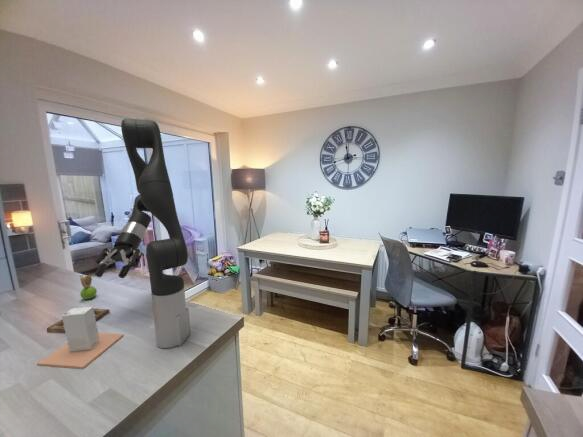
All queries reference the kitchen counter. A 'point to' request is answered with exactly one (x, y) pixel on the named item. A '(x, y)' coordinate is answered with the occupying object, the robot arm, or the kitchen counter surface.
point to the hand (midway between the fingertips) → (109, 276)
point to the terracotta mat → (80, 353)
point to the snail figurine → (87, 288)
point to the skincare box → (80, 329)
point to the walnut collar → (59, 326)
